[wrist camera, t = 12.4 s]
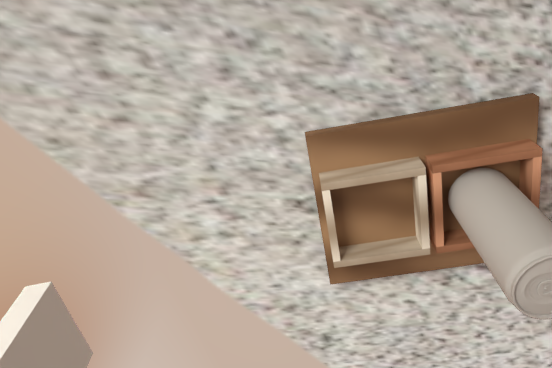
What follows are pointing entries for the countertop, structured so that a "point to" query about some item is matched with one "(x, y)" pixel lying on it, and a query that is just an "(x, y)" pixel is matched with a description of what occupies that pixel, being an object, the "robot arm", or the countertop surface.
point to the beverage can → (507, 237)
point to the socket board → (414, 183)
